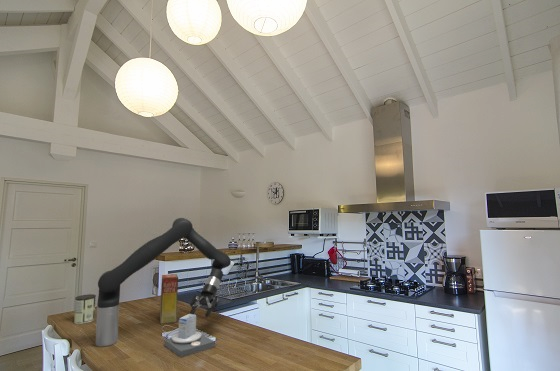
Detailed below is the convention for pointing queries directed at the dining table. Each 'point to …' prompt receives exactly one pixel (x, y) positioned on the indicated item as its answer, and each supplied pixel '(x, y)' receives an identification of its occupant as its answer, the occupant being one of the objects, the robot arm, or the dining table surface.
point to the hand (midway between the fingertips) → (198, 315)
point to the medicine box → (187, 326)
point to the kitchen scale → (188, 344)
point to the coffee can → (84, 309)
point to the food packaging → (169, 298)
